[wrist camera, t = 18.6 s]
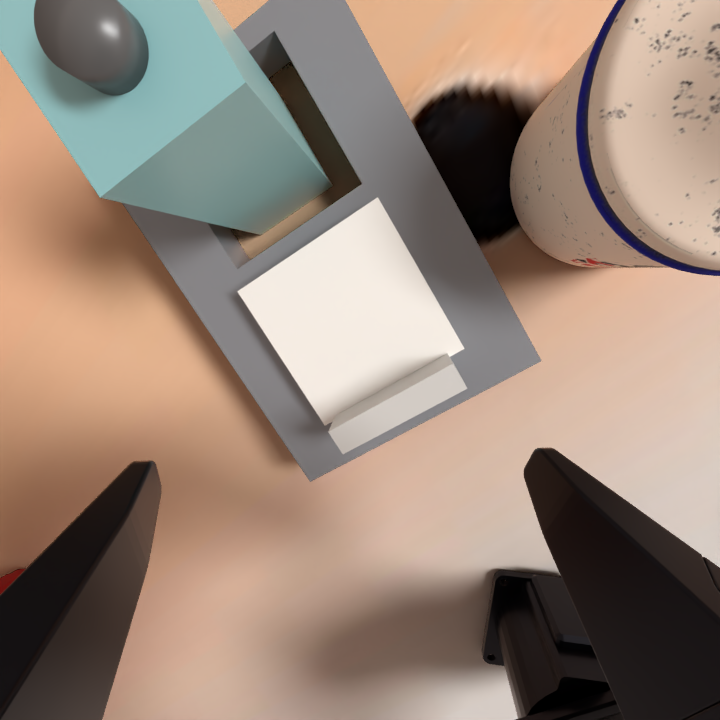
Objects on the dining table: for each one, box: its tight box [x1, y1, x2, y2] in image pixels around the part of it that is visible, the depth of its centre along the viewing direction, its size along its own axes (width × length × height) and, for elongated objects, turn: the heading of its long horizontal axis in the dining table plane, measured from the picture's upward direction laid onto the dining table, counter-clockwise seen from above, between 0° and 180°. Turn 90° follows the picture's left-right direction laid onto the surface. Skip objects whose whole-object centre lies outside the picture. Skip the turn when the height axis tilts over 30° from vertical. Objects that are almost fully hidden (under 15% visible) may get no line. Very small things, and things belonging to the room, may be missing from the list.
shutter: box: [237, 197, 467, 454], centre depth 17 cm, size 8×8×3 cm
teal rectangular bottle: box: [0, 0, 333, 235], centre depth 14 cm, size 5×4×12 cm
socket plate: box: [122, 0, 541, 482], centre depth 20 cm, size 19×13×2 cm
